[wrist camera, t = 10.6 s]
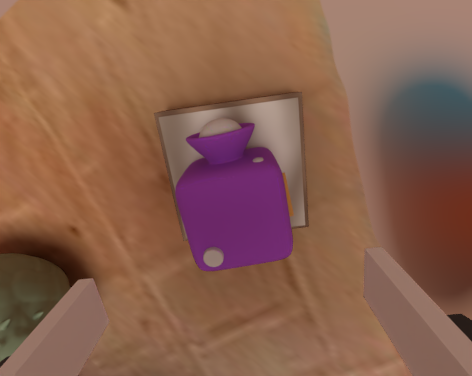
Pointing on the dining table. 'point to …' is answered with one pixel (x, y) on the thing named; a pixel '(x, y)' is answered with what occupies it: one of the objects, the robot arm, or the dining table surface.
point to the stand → (264, 135)
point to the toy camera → (234, 200)
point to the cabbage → (26, 296)
